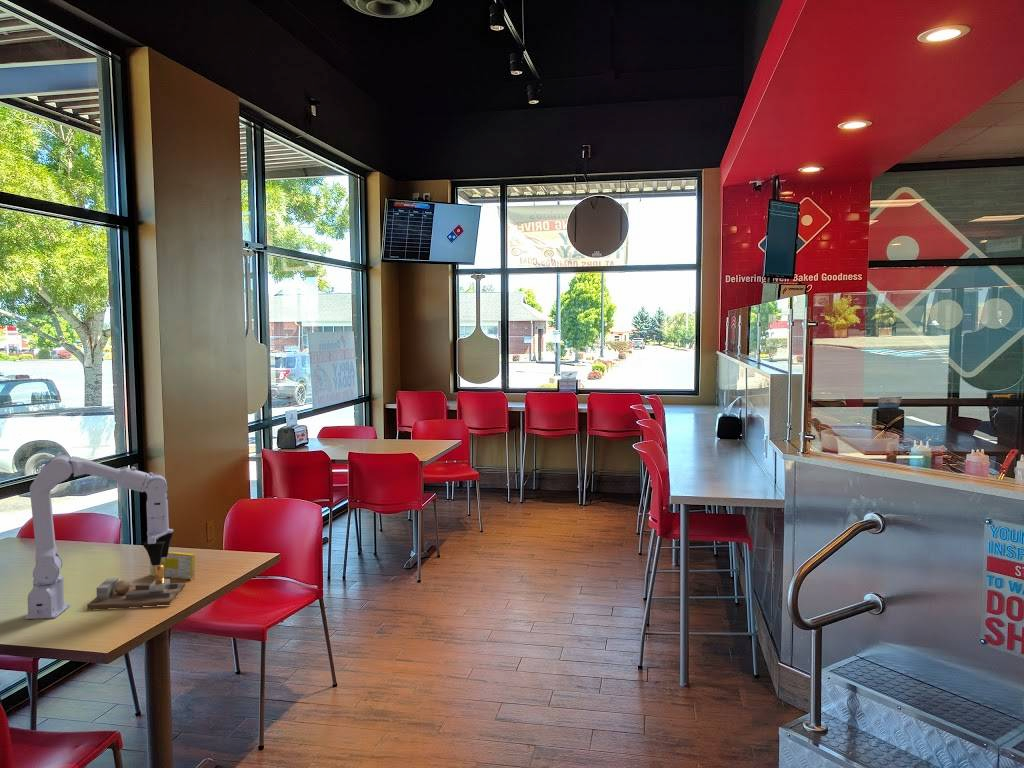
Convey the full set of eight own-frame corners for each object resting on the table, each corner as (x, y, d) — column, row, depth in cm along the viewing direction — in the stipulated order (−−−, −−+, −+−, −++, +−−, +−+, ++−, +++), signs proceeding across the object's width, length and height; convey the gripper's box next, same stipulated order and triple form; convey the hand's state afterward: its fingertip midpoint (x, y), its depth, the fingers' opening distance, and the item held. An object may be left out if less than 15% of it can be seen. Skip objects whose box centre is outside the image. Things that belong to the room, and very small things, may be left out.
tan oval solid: (127, 596, 215) (126, 582, 214) (112, 596, 214) (112, 583, 214) (131, 591, 218) (131, 578, 218) (117, 591, 218) (117, 578, 218)
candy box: (196, 578, 235) (195, 553, 235) (191, 580, 233) (191, 555, 233) (154, 573, 240) (153, 549, 239) (149, 575, 237) (148, 550, 237)
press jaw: (163, 594, 215) (163, 568, 215) (149, 595, 214) (148, 569, 214) (170, 587, 221) (169, 562, 220) (156, 588, 220) (155, 563, 220)
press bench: (169, 606, 211) (168, 589, 210) (87, 610, 207) (86, 592, 207) (185, 587, 227) (185, 571, 226) (109, 590, 223) (109, 574, 223)
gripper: (165, 521, 211) (167, 567, 212) (178, 509, 225) (180, 552, 226) (138, 522, 209) (141, 569, 210) (153, 510, 224) (155, 554, 225)
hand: (159, 560), depth 218 cm, fingers open, 7 cm apart
